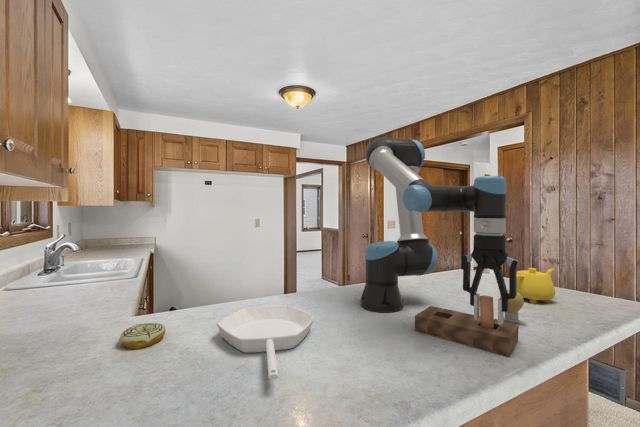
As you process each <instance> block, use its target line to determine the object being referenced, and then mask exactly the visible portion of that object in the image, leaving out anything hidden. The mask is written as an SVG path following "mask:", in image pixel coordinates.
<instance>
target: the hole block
mask: <svg viewBox="0 0 640 427" xmlns="http://www.w3.org/2000/svg"><path fill="white" fill-rule="evenodd" d="M414 331H415V332H417V333H420V334H424V335H429V336H432V337H436V338H440V339H442V340H443V339H444V340H446V341H451V342H454V343H457V344H460V345H465V346H468V347H473V348H476V349H479V350H484V351H487V352H490V353H493V354H496V355H501V356H504V357H509V358H510V357H511V356H512V354H513V352H514V350H515V348H516V346H517V345H518V342H519V324H518V323H509V322H507V321H506V320H505V321H504V320H503V323H502V325H498V319H495V318H494V329H490V328H486V327H481V324H480V317H479V318H478V319H477V320H476V319H474V314H473V313H472V314H470V313H467V312H461V311H457V310H452V309H447V308H443V307H439V306H434V305H430V306H427V307H426V308H425V309H423V310H421V311H420V312H418V313H416V314H415V315H414Z"/></svg>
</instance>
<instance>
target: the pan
mask: <svg viewBox="0 0 640 427" xmlns="http://www.w3.org/2000/svg"><path fill="white" fill-rule="evenodd" d="M314 320H315V315H313V314H312V313H309V312H307V311H304V310H303V309H299V308H298V307H294V306H291V305H288V304H287V305H285V304H284V305H277V304H276V305H262V306H261V305H260V306H253V307H251V306H249V307H243V308H241V309H239V310H236V311H234V312H232V313H231V314H229V315H227V316H225V317H224V318H223V319H220V321H218V322H217V323H216V326H217V328H218V330H219V333H220V335H221V336H222V338H223V339H224V340H225V341H226V342H227V343H229V344H230V345H231V346H232V347H233V348H235V349H237V350H238V351H240V352H243V353H244V354H254V353H255V354H256V353H257V352H258V353H266V360H267V372H268V379H269V380H270V381H275V380H277V379H278V378H279V372H278V364H277V357H276V352H277V351H286V350H292V349H293V350H294V348H295V347H296V346H297V345H299V344H300V343H301V342H302V341H303V339H305V337H307V335H308V334H309V331H310V329H311V327H312V324H313V323H314Z"/></svg>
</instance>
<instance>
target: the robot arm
mask: <svg viewBox="0 0 640 427" xmlns="http://www.w3.org/2000/svg"><path fill="white" fill-rule="evenodd" d="M365 159H366V163H367V164H368V165H369V167H370V168H371V169H372V170H373V171H376V172H379V173H381V175H382V176H383V177H384V178H385V179H386V180H387V181H388V182H390V184H391V185H392V186H394V188H395V194H396V204H397V205H396V206H397V216H398V224H399V235H400V237H398V239H397V240H396V241H394V240H385V241H376V242H373V243H369V244H368V245H367V246H366V249H365V255H364V256H365V257H364V258H365V285H364V288H363V291H362V294H361V297H360V306H361V307H362V308H364V309H366V310H369V311H371V312H377V313H394V312H398V311H399V312H400V311H401V310H402V309H403V308H404V300H403V297H402V294H401V292H400V288H399V277H412V276H418V277H419V276H424V275H429V274H431V273H432V272H433V271H434V269H435V268H436V266H437V262H438V251H437V249H436V248H435V246H434V245H433V244H431V243H430V241H429V237H427V236H426V235H425V234H424V226H423V219H422V218H423V217H422V213H426V212H429V213H431V212H432V213H433V212H434V213H438V212H442V213H443V212H445V213H449V212H453V213H461V212H462V213H464V212H466V213H468V212H473V233H475V234H474V235H473V250H472V252H471V253H470V254H464V255H461V256H460V258H461V260H462V263H463V266H462V268H463V269H462V270H463V272H462V290H463V292H467V293H469V304H470V306H472V307H473V315H474V319H476V320H477V319H478V318H479V317H480V296H481V294H480V293H477V292H478V289H479V285H480V283H481V279H482V277H483V272H484V270H487V269H488V270H491V271H493V273H494V276H495V279H496V283H497V287H498V290H499V294H500V296H501V297H500V296H499V298H498V299H497V320H498V325H502V323H503V321H504V313H505V312H507V310H508V299H514V298H515V297H516V296H517V268H518V267H519V266H518V265H519V263H520V260H519V259H517V258H516V259H515V258H512V257H509V256H508V253H507V252H506V242H507V241H506V240H507V238H506V236H505V235H504V234H505V233H507V217H506V216H507V214H506V213H507V211H506V210H507V208H506V207H507V193H508V190H507V181H506V178H505V177H504V176H502V175H484V176H483V175H482V176H478V177H475V178H474V180H473V184H472V185H464V186H463V185H460V186H459V185H456V186H455V185H432V184H430V183H429V182H428V181H426V180H425V179H424V178H422V177H421V176H420V175H419V174H418V173H419V172H420V171H421V167H423V165H424V163H425V159H426V152H425V148H424V146H423V144H422V143H421V142H420V141H419V140H416V139H411V138H398V137H396V138H395V137H379V138H376V139H374V140H373V141H371V142H370V143H369V145H368V146H367V147H366V151H365ZM472 259H473V260H474V262H475V264H476V265H477V266H476V269H475V273H474V277H473V280H472V283H471V262H472V261H473V260H472ZM506 262H507V266H508V268H509V270H508V271H509V272H508V273H509V274H508V275H509V278H508V279H509V282H508V283H509V289H507V284H506V283H505V278H504V275H503V268H502V266H503V264H505V263H506ZM507 290H509V293H508V292H507Z"/></svg>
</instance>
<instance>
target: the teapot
mask: <svg viewBox="0 0 640 427" xmlns="http://www.w3.org/2000/svg"><path fill="white" fill-rule="evenodd" d="M537 270H538V269H537V268H535V267H528V268H527V270H525V269H524V270H516V272H517V292H518V293H520V294H521V295H522V297H523V299H528V300H529V303H531V304H538V301H541V302H543V303H550V300H552V299H554V297H555V296H556V288H555V285H554V282H553V280H552V273H553V271H554V270H555V268H549V269H547V270H546V272H540V271H537Z"/></svg>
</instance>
